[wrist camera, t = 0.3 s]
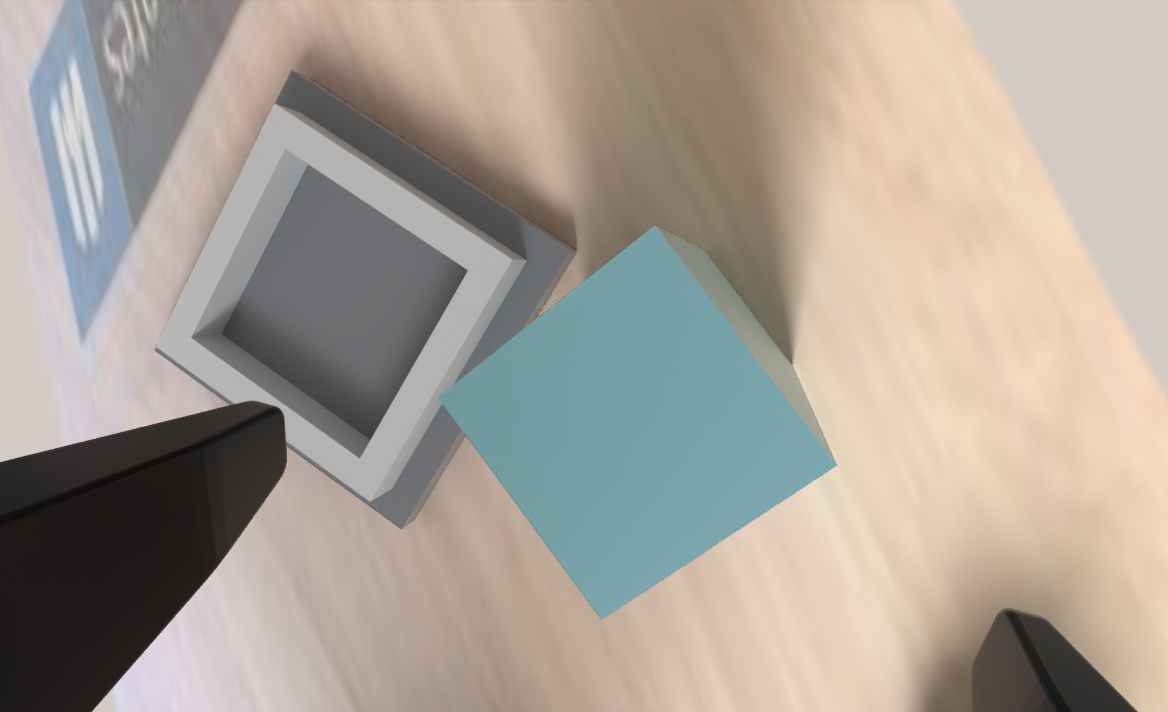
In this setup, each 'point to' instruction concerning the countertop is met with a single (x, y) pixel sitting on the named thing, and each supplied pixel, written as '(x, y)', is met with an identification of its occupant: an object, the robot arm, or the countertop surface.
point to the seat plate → (357, 294)
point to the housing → (641, 419)
